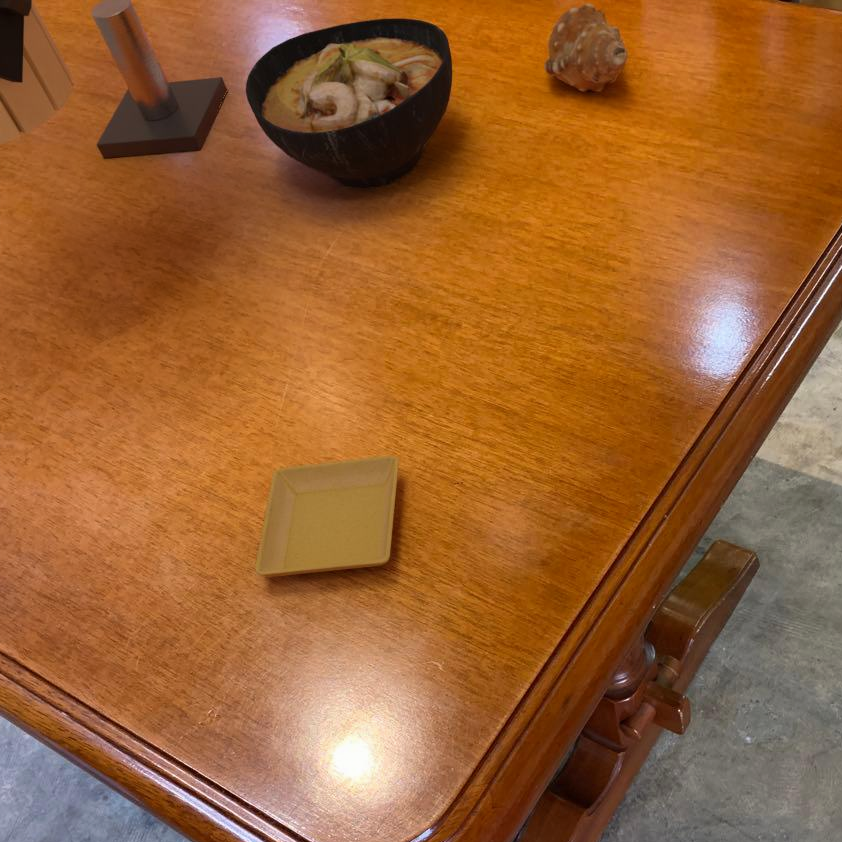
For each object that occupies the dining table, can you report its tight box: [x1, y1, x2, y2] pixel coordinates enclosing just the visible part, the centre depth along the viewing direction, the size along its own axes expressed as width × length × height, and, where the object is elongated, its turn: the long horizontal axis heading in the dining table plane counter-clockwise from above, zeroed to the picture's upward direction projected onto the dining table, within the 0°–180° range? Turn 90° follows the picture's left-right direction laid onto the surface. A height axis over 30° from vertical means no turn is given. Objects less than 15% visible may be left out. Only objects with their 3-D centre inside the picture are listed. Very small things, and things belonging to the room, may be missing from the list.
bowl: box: [245, 17, 453, 190], centre depth 87 cm, size 17×17×10 cm
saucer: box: [254, 455, 400, 577], centre depth 66 cm, size 9×9×2 cm
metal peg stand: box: [90, 0, 228, 159], centre depth 96 cm, size 10×10×12 cm
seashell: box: [543, 3, 628, 92], centre depth 92 cm, size 9×8×10 cm
